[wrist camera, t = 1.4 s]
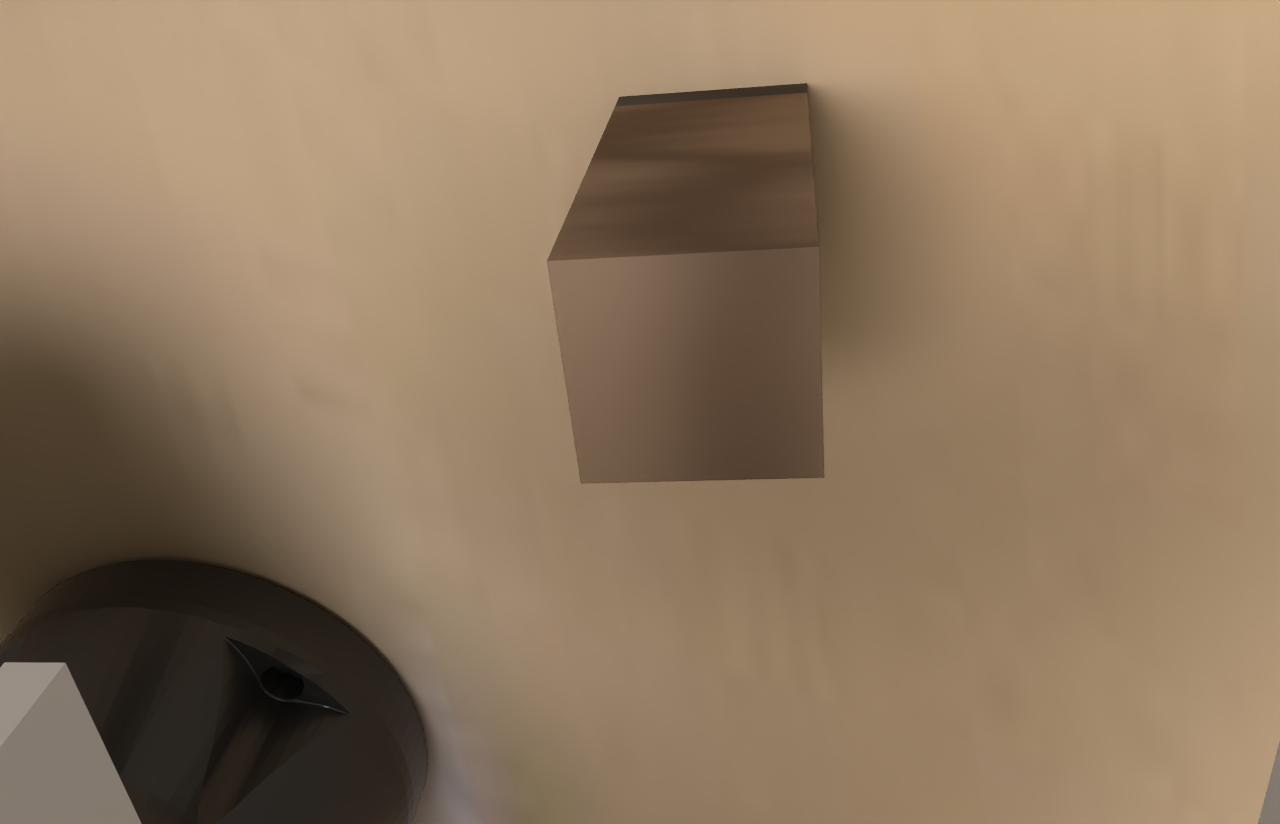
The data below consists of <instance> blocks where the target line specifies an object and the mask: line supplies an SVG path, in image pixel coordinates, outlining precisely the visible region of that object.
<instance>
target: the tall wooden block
mask: <svg viewBox="0 0 1280 824" xmlns="http://www.w3.org/2000/svg"><path fill="white" fill-rule="evenodd" d="M547 264H548V270H549V277H550V284H551V290H552V297H553V303H554V310H555V316H556V323H557V329H558V336H559V343H560V349H561V356H562V362H563V369H564V375H565V382H566V388H567V395H568V402H569V408H570V415H571V421H572V428H573V434H574V441H575V447H576V454H577V460H578V467H579V474H580V480H581V483H619V482H661V481H703V480H745V479H787V478H824V447H823V402H822V358H821V313H820V269H819V240H818V227H817V213H816V200H815V186H814V173H813V160H812V146H811V133H810V119H809V106H808V93H807V83H805V84H792V85H778V86H764V87H750V88H737V89H723V90H709V91H695V92H682V93H668V94H654V95H640V96H627V97H619V99H618V101H617V104H616V106H615V108H614V110H613V113H612V115H611V117H610V119H609V122H608V124H607V126H606V129H605V131H604V133H603V135H602V138H601V140H600V142H599V144H598V147H597V149H596V151H595V153H594V156H593V158H592V160H591V163H590V165H589V167H588V169H587V172H586V174H585V176H584V178H583V181H582V183H581V185H580V188H579V190H578V192H577V194H576V197H575V199H574V201H573V203H572V206H571V208H570V210H569V212H568V215H567V217H566V219H565V222H564V224H563V226H562V228H561V231H560V233H559V235H558V237H557V240H556V242H555V244H554V246H553V249H552V251H551V253H550V256H549V258H548V260H547Z"/></svg>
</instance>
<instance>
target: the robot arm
mask: <svg viewBox="0 0 1280 824" xmlns="http://www.w3.org/2000/svg"><path fill="white" fill-rule="evenodd" d="M427 766H428V756H427V746H426V739H425V735H424V731H423V727H422V724H421V721H420V718H419V716H418V713H417V711H416V709H415V706H414V705H413V703H412V701H411V699H410V697H409V695H408V693H407V692H406V690H405V689H404V687H403V685H402V684H401V682H400V681H399V680H398V678H397V677H396V675H395V674H394V673H393V671H392V670H391V669H390V668H389V667H388V665H387V664H386V663H385V662H384V661H383V660H382V658H381V657H380V656H379V655H378V654H377V653H376V652H375V651H374V650H373V649H372V648H371V647H370V646H369V645H368V644H366V643H365V642H364V641H363V640H362V639H361V638H360V637H359V636H357V635H356V634H355V633H354V632H353V631H351V630H350V629H349V628H348V627H346V626H345V625H344V624H342V623H341V622H339V621H338V620H337V619H335V618H334V617H332V616H331V615H329V614H328V613H326V612H325V611H323V610H322V609H320V608H318V607H317V606H315V605H313V604H311V603H310V602H308V601H306V600H304V599H302V598H300V597H298V596H296V595H294V594H292V593H290V592H288V591H286V590H284V589H282V588H279V587H277V586H275V585H272V584H270V583H267V582H265V581H262V580H259V579H257V578H254V577H251V576H247V575H244V574H241V573H238V572H234V571H230V570H226V569H222V568H218V567H213V566H208V565H203V564H195V563H188V562H177V561H135V562H126V563H119V564H113V565H108V566H104V567H100V568H96V569H93V570H90V571H87V572H84V573H81V574H79V575H77V576H74V577H72V578H70V579H68V580H66V581H64V582H63V583H61V584H59V585H58V586H56V587H55V588H53V589H52V590H50V591H49V592H48V593H46V594H45V595H44V596H43V597H42V598H41V599H40V600H38V601H37V603H36V604H35V605H34V606H33V607H32V608H31V609H30V610H29V612H28V613H27V614H26V615H25V616H24V618H23V619H22V620H21V621H20V622H19V623H18V625H17V626H16V627H15V628H14V629H13V630H12V632H11V633H10V634H9V635H8V636H7V638H6V639H5V640H4V641H3V642H2V643H1V645H0V824H412V821H413V818H414V815H415V812H416V809H417V807H418V804H419V801H420V798H421V795H422V792H423V789H424V786H425V781H426V776H427ZM1258 824H1280V742H1279V746H1278V750H1277V754H1276V758H1275V761H1274V765H1273V769H1272V773H1271V777H1270V781H1269V784H1268V788H1267V792H1266V796H1265V800H1264V804H1263V807H1262V811H1261V815H1260V819H1259V823H1258Z"/></svg>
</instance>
